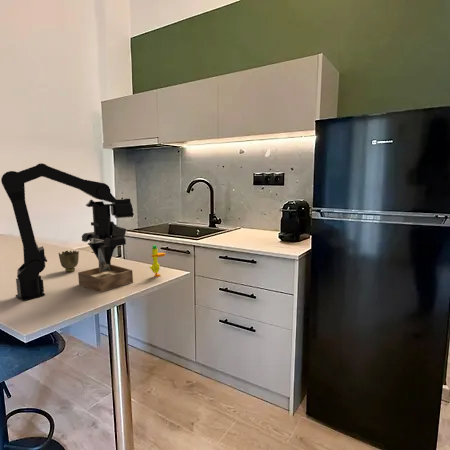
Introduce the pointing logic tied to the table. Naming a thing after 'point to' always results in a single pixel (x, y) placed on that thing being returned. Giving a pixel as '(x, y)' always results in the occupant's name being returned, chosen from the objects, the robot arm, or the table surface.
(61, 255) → the cup
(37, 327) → the table surface
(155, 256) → the toy figure
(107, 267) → the metal peg
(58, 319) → the table surface
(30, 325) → the table surface
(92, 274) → the walnut box
